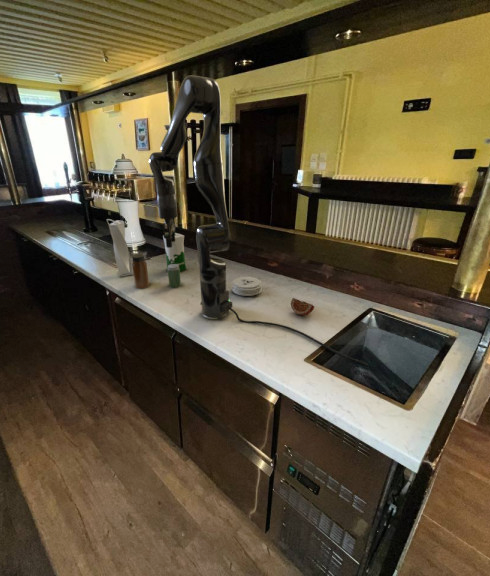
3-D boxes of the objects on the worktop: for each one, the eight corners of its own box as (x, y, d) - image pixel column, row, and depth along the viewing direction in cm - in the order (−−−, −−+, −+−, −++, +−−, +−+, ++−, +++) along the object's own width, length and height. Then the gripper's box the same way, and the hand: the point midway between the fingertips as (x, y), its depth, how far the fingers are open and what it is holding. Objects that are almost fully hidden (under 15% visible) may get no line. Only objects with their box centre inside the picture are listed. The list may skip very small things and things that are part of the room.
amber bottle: (152, 284, 139) (148, 254, 133) (142, 289, 134) (137, 258, 128) (142, 281, 142) (138, 252, 136) (132, 286, 138) (127, 256, 132)
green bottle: (183, 284, 138) (181, 264, 134) (175, 288, 134) (173, 268, 130) (174, 281, 141) (172, 262, 137) (166, 286, 137) (164, 266, 133)
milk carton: (178, 265, 160) (175, 228, 152) (188, 269, 154) (186, 231, 146) (164, 270, 155) (160, 231, 147) (175, 274, 149) (171, 234, 140)
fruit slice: (286, 311, 111) (287, 299, 109) (297, 305, 115) (298, 294, 113) (306, 320, 105) (307, 308, 103) (317, 313, 109) (318, 301, 106)
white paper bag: (117, 277, 148) (106, 221, 137) (116, 272, 155) (106, 217, 144) (134, 274, 151) (125, 218, 139) (132, 269, 158) (124, 215, 146)
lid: (238, 283, 136) (238, 273, 134) (265, 287, 131) (266, 276, 129) (227, 294, 126) (227, 284, 124) (256, 299, 121) (256, 288, 118)
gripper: (173, 208, 115) (177, 249, 122) (179, 202, 128) (182, 239, 135) (154, 209, 116) (159, 249, 123) (161, 203, 129) (165, 239, 136)
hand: (171, 244), depth 129 cm, fingers open, 8 cm apart
